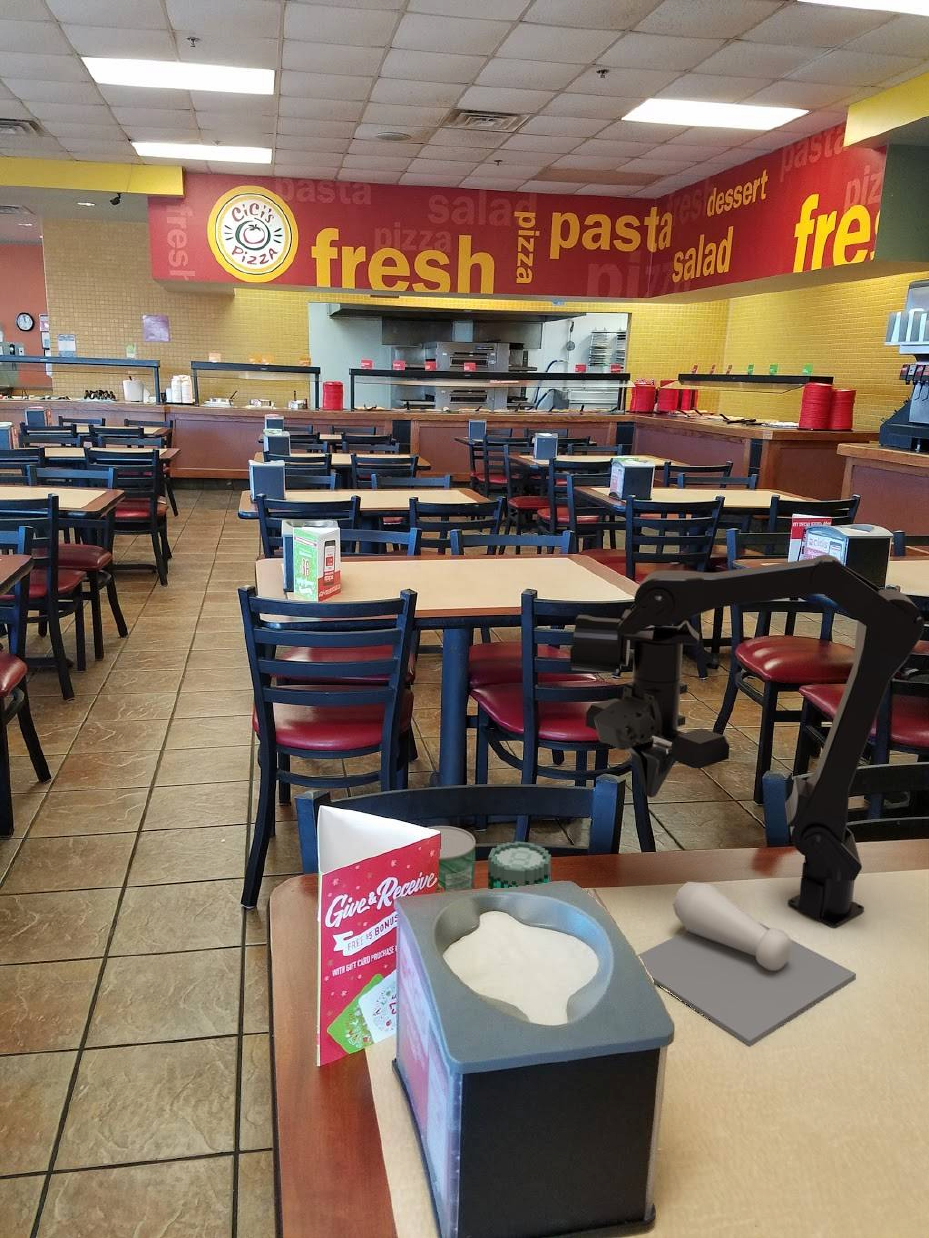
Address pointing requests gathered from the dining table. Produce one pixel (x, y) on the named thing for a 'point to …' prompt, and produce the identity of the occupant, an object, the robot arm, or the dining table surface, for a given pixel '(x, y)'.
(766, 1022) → the mat
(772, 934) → the salt shaker
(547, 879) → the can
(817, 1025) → the dining table surface
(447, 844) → the canned tomato
